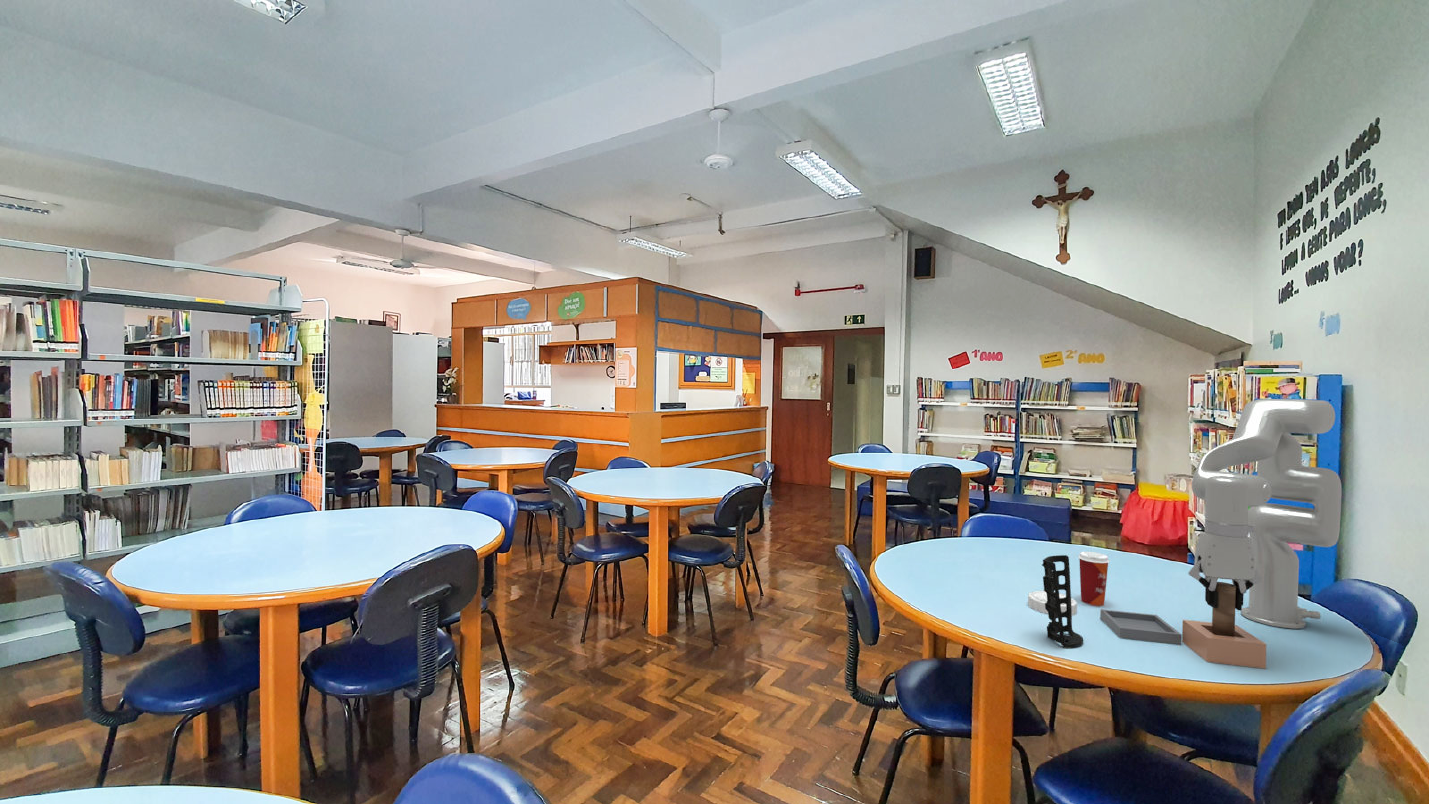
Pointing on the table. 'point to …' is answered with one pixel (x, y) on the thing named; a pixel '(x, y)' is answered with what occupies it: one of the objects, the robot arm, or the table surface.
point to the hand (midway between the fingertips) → (1223, 606)
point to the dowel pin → (1224, 610)
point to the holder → (1059, 602)
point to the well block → (1224, 645)
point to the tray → (1140, 627)
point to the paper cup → (1093, 577)
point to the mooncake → (1040, 598)
